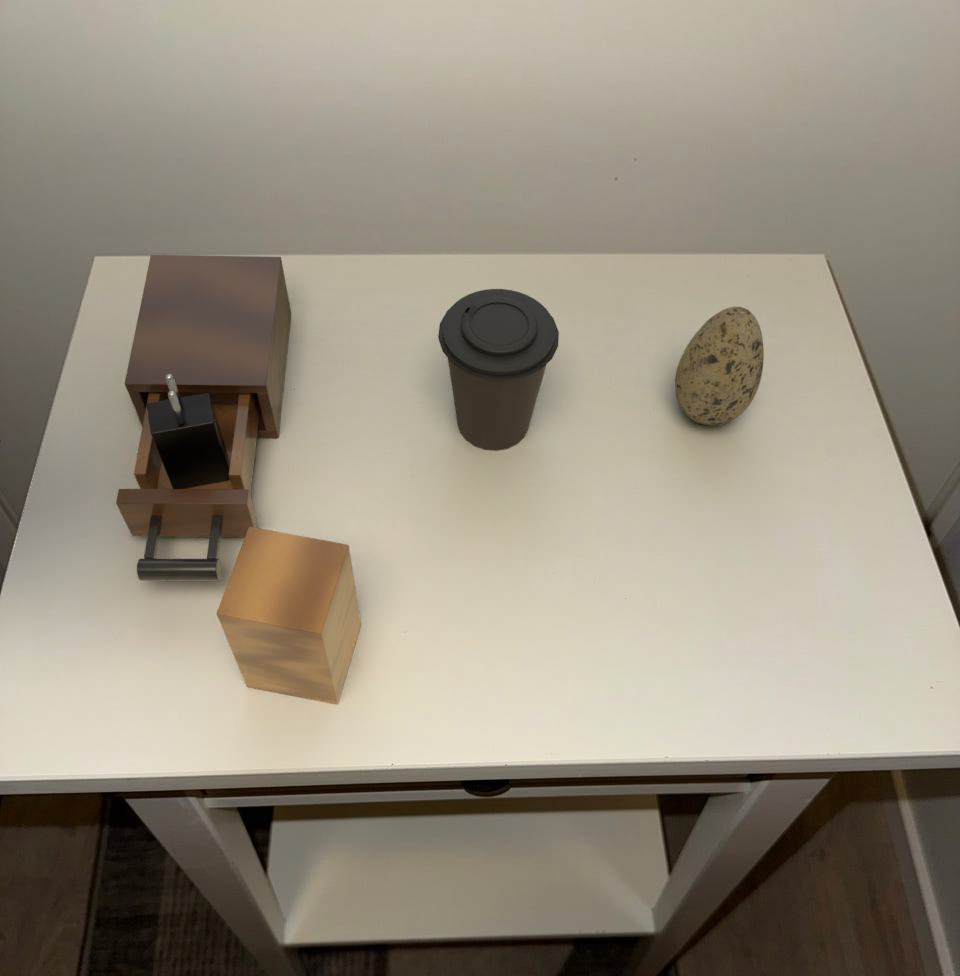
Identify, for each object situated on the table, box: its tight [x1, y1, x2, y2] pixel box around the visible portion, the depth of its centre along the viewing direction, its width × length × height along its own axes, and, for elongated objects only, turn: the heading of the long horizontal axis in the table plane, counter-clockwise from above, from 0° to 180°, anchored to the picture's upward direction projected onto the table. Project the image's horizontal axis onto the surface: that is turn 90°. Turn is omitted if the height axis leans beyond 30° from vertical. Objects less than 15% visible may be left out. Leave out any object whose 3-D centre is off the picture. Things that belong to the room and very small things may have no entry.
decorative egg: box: [674, 306, 765, 427], centre depth 70 cm, size 6×6×10 cm
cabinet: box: [124, 254, 292, 439], centre depth 72 cm, size 13×10×6 cm
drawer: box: [115, 392, 260, 582], centre depth 67 cm, size 16×8×4 cm, turn 1°
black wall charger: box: [147, 374, 230, 489], centre depth 64 cm, size 4×3×9 cm, turn 105°
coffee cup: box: [437, 288, 560, 451], centre depth 69 cm, size 8×8×10 cm
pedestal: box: [216, 527, 362, 705], centre depth 60 cm, size 6×6×10 cm
